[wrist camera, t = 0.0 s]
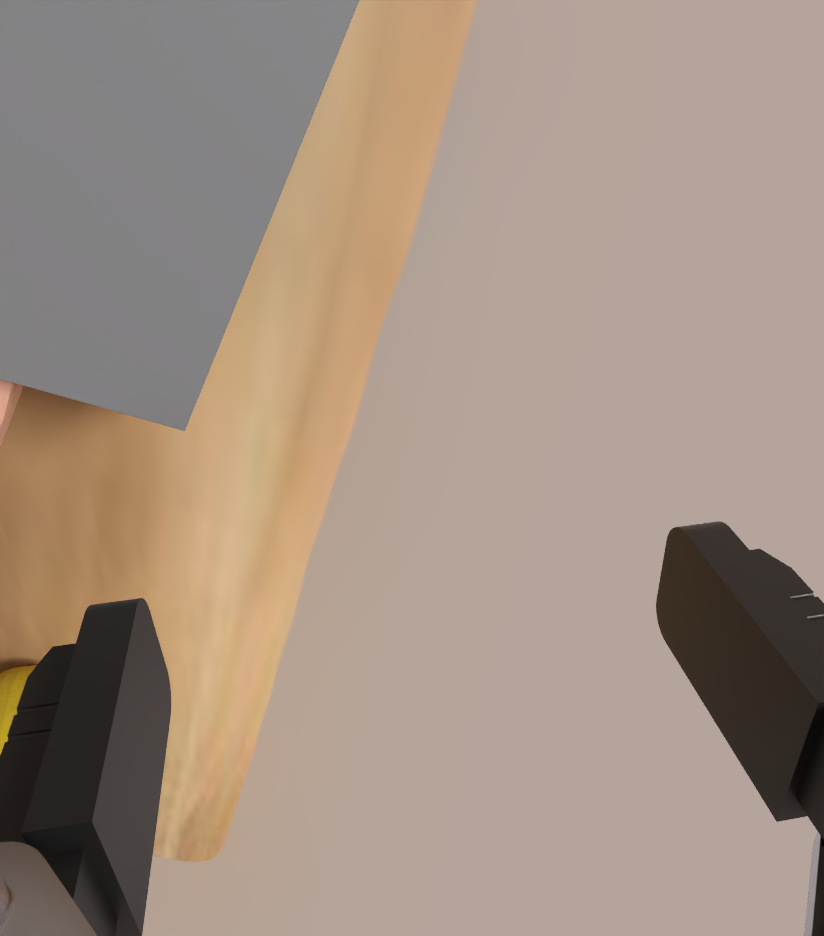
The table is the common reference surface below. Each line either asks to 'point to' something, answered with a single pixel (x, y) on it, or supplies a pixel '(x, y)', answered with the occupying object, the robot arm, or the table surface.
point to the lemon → (11, 697)
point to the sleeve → (144, 182)
